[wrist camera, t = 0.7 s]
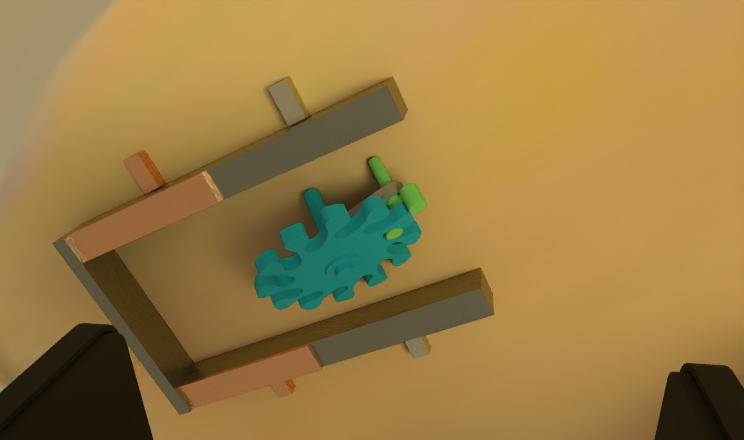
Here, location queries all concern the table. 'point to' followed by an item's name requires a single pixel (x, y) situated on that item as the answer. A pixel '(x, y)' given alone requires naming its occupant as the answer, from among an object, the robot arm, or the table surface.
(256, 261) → the gear
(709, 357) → the table surface
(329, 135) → the rail
